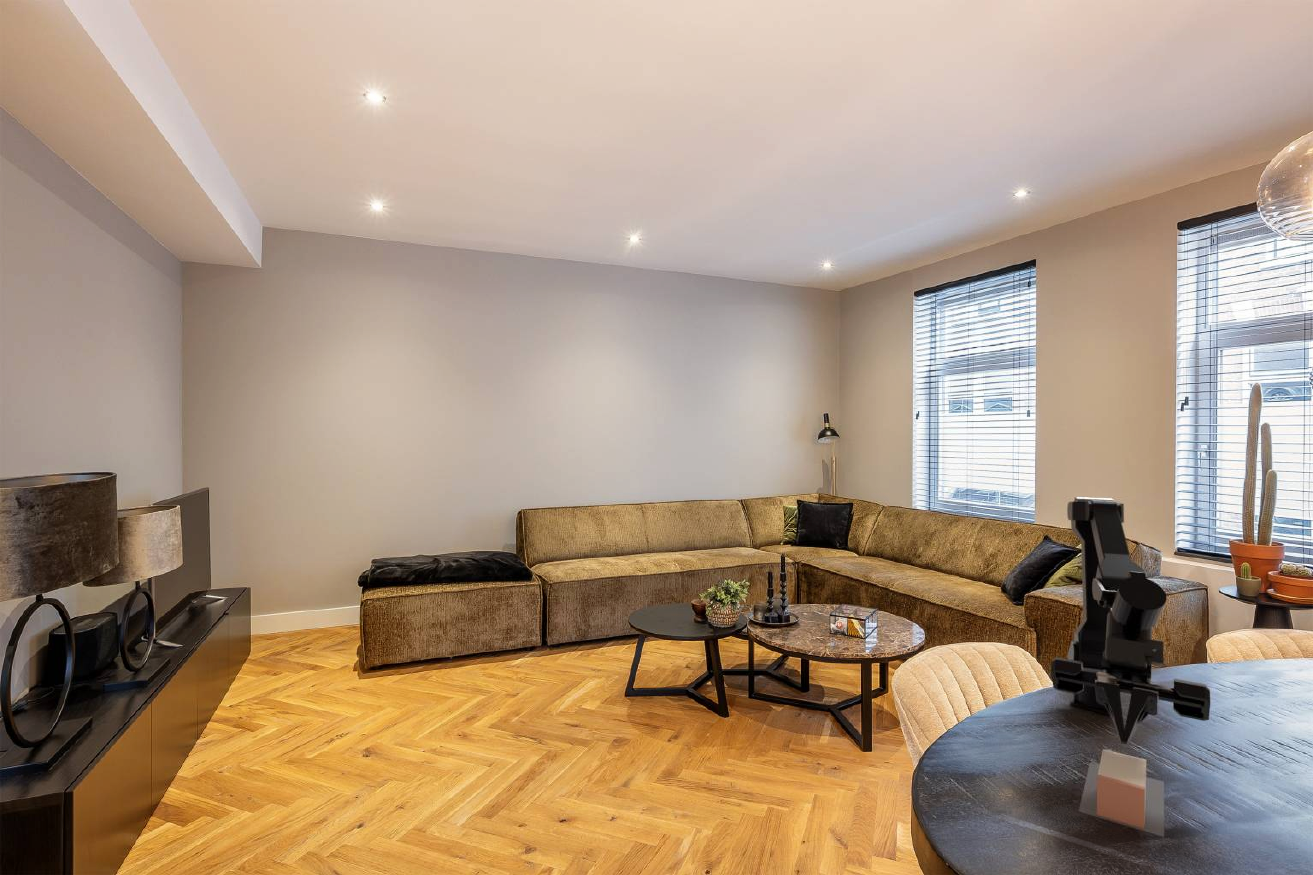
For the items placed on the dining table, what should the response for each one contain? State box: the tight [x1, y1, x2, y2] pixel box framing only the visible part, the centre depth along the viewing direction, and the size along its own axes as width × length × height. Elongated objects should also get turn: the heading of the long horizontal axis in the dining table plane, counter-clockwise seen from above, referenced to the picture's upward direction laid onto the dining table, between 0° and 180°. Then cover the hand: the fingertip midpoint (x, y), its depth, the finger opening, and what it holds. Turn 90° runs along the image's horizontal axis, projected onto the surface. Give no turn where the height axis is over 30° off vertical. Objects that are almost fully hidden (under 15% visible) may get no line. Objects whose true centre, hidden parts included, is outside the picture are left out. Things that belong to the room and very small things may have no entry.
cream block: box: [1097, 749, 1147, 829], centre depth 89 cm, size 5×5×10 cm
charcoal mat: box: [1078, 762, 1165, 838], centre depth 91 cm, size 17×9×1 cm, turn 142°
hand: (1124, 742), depth 92 cm, fingers closed
